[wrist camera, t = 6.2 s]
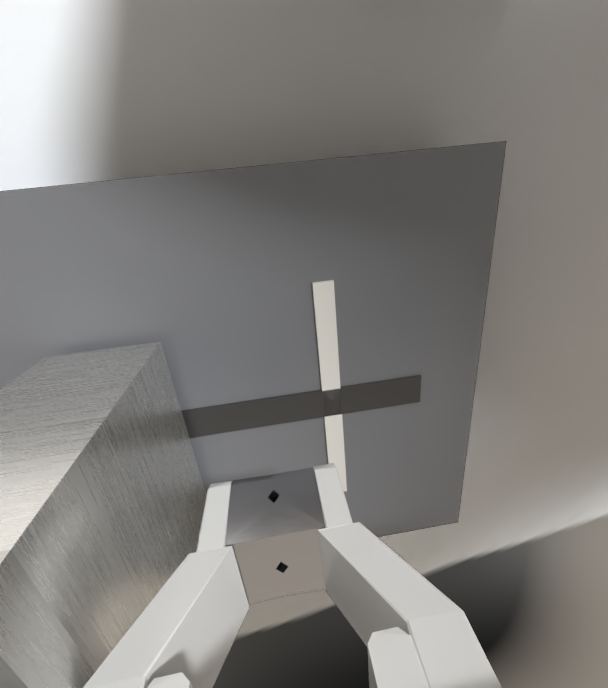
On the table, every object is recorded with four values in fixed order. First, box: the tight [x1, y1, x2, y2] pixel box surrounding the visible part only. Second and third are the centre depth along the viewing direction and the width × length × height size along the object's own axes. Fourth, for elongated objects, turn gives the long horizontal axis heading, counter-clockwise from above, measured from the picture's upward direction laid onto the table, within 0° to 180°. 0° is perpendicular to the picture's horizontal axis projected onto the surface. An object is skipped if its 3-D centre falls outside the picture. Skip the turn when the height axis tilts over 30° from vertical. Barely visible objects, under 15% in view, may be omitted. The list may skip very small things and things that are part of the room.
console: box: [0, 141, 506, 537], centre depth 12 cm, size 26×14×3 cm, turn 96°
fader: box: [0, 342, 206, 688], centre depth 7 cm, size 3×6×7 cm, turn 6°
